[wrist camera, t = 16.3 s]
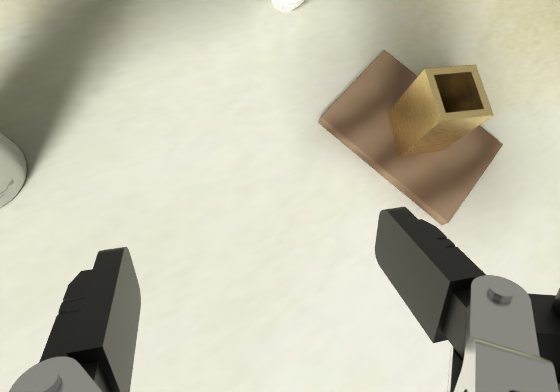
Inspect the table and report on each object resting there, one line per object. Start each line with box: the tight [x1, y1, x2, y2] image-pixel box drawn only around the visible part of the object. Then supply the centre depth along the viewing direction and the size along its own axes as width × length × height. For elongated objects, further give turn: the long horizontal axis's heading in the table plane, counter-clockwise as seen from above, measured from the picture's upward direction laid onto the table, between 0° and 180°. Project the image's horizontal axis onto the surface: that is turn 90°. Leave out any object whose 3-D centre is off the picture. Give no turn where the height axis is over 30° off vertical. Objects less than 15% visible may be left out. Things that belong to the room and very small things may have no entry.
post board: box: [318, 50, 503, 225], centre depth 46 cm, size 20×14×7 cm
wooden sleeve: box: [387, 65, 493, 156], centre depth 43 cm, size 6×6×10 cm
